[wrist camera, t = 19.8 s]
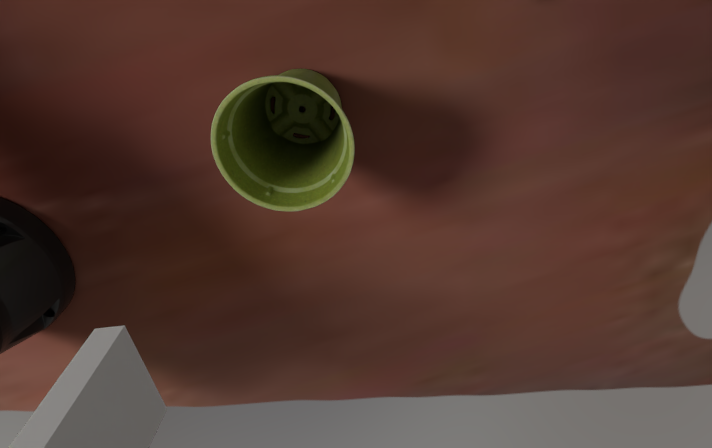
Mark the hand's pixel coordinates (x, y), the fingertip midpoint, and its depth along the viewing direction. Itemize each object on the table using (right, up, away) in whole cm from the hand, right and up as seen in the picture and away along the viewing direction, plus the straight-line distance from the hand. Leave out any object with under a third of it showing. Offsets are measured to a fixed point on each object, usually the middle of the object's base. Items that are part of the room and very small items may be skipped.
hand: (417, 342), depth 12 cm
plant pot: (-5, +12, +32) cm, 34 cm away
